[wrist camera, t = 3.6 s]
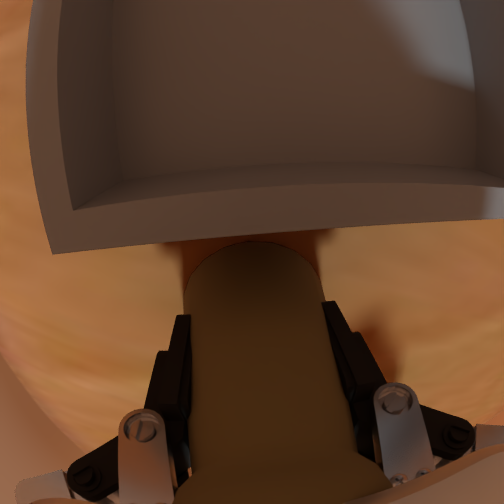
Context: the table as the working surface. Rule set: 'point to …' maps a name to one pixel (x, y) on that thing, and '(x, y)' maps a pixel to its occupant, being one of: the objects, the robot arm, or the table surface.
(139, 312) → the table surface
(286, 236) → the table surface
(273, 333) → the cork
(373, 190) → the box
